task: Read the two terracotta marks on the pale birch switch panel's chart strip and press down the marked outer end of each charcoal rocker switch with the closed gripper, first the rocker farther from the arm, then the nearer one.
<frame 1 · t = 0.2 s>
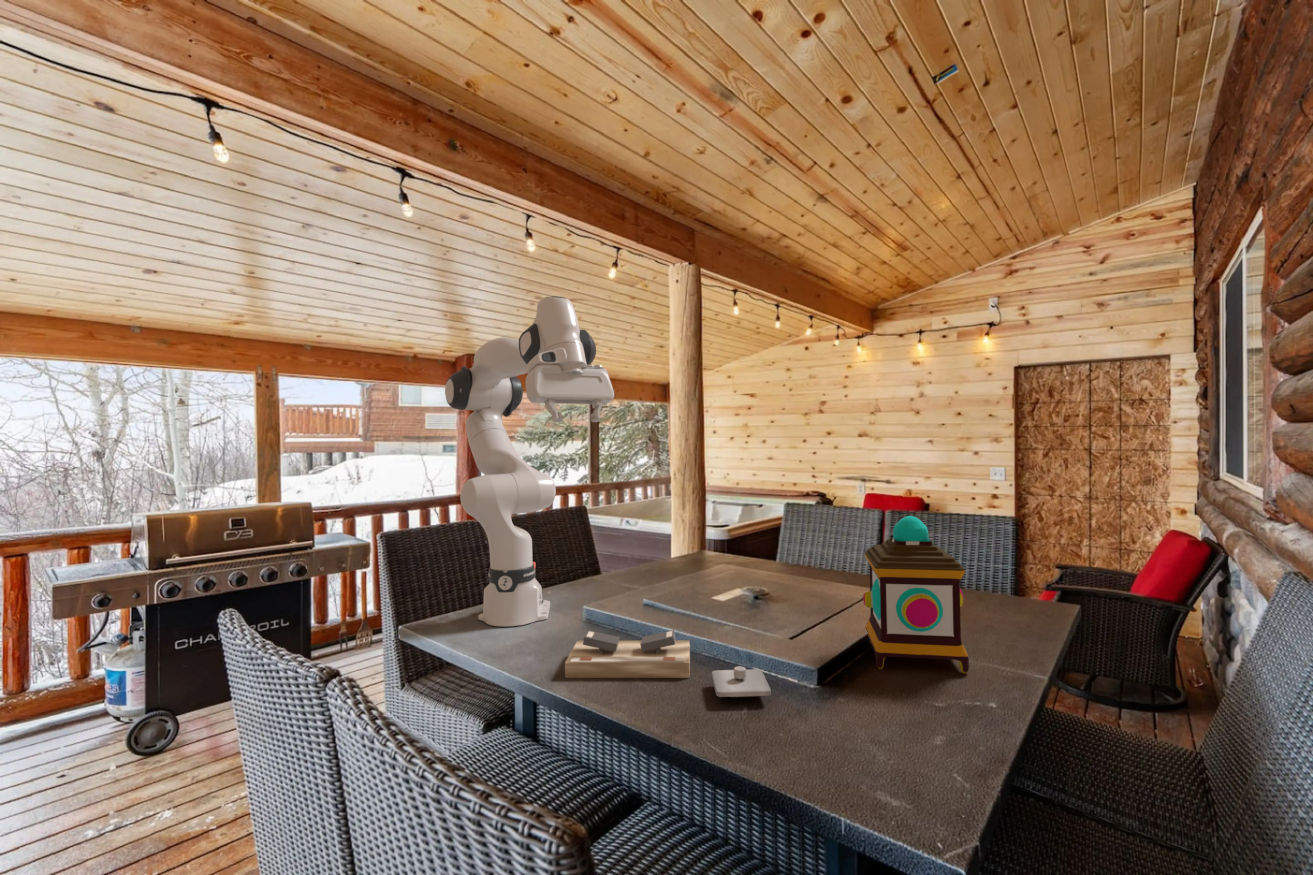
hand: (577, 421, 131), 52 cm above the table, fingers open, 8 cm apart
rocker near: (601, 640, 127), point 5 cm above the table, hinge at -12.0°
rocker far: (658, 640, 127), point 5 cm above the table, hinge at 12.0°
switch panel: (630, 665, 127), on the table
decorative lantern: (913, 657, 128), on the table
light switch: (740, 695, 112), on the table
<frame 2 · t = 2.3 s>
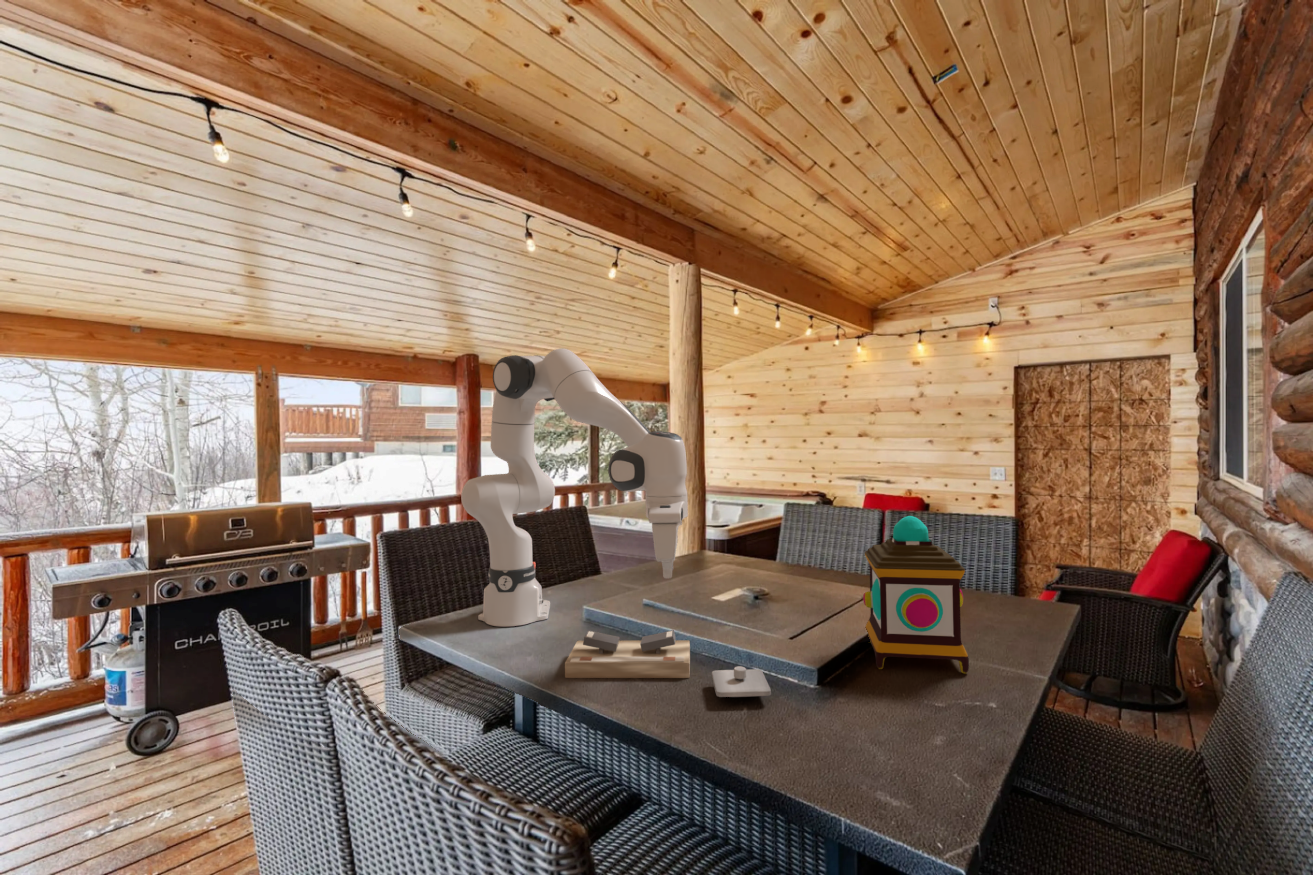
hand: (668, 574, 126), 19 cm above the table, fingers open, 4 cm apart
nothing on the table moved.
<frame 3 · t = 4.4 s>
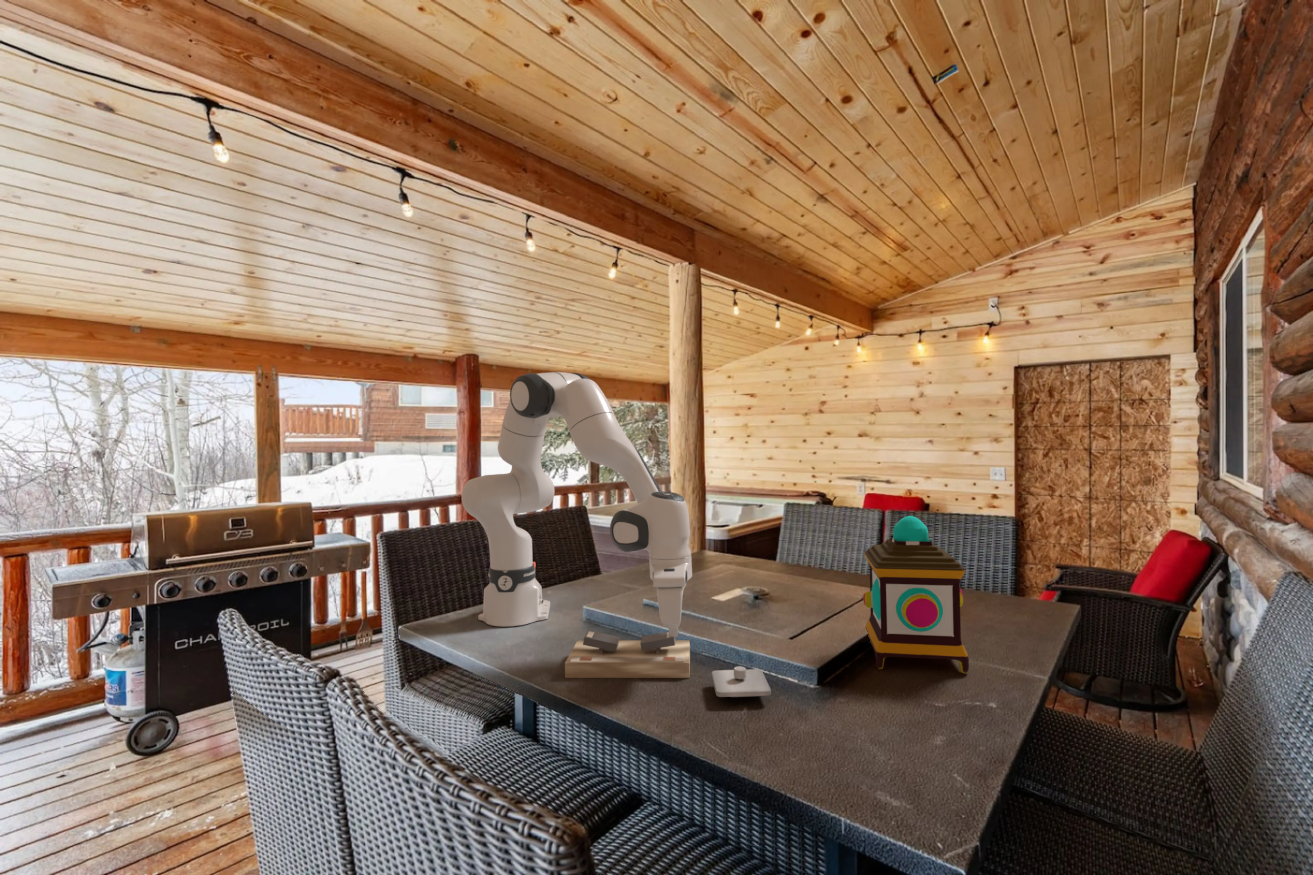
hand: (673, 635, 126), 6 cm above the table, fingers closed, pressing on rocker far
rocker far: (658, 640, 127), point 5 cm above the table, hinge at 9.0°, touching gripper
everything else where it was.
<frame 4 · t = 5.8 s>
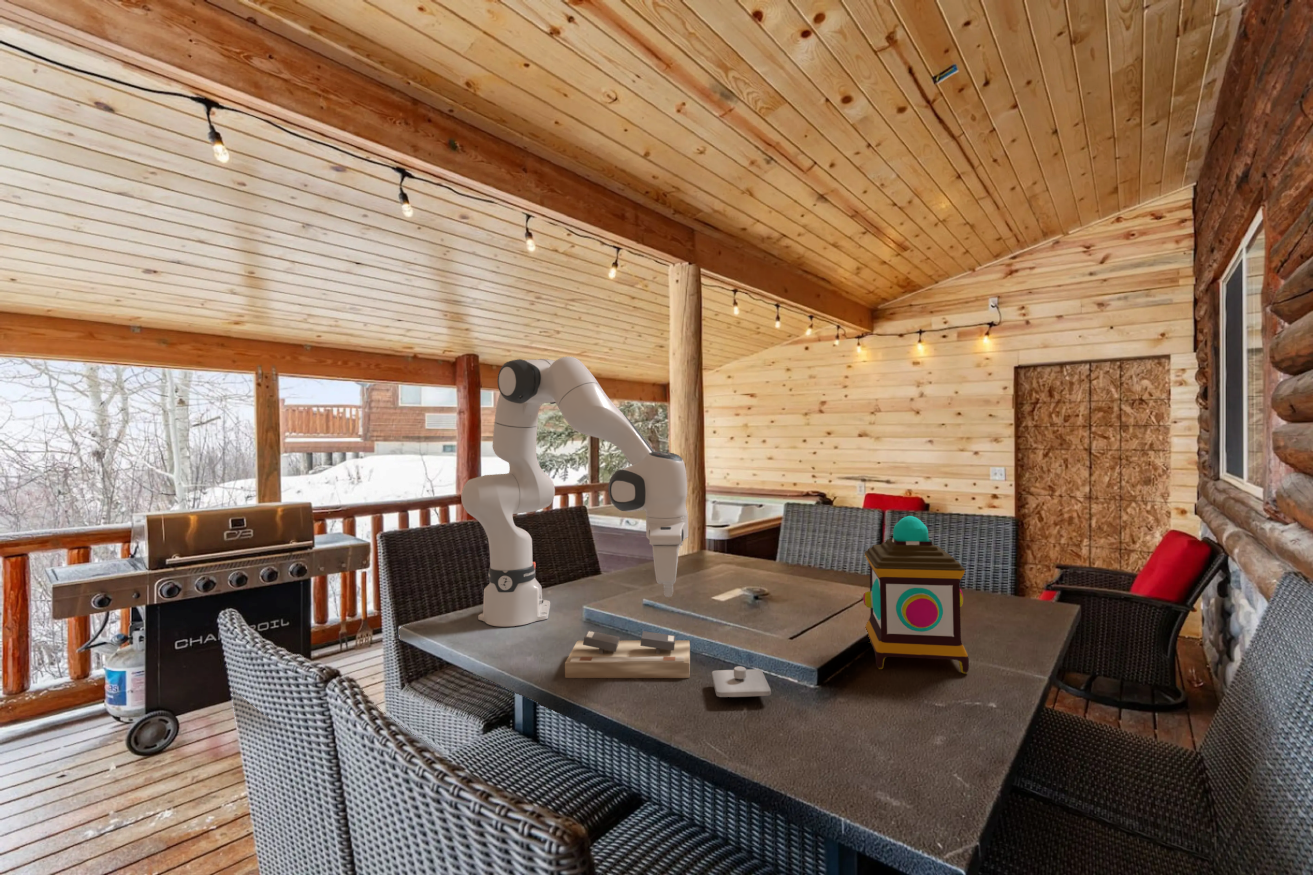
hand: (668, 594, 127), 15 cm above the table, fingers closed
rocker far: (658, 640, 127), point 5 cm above the table, hinge at -8.3°
everything else where it was.
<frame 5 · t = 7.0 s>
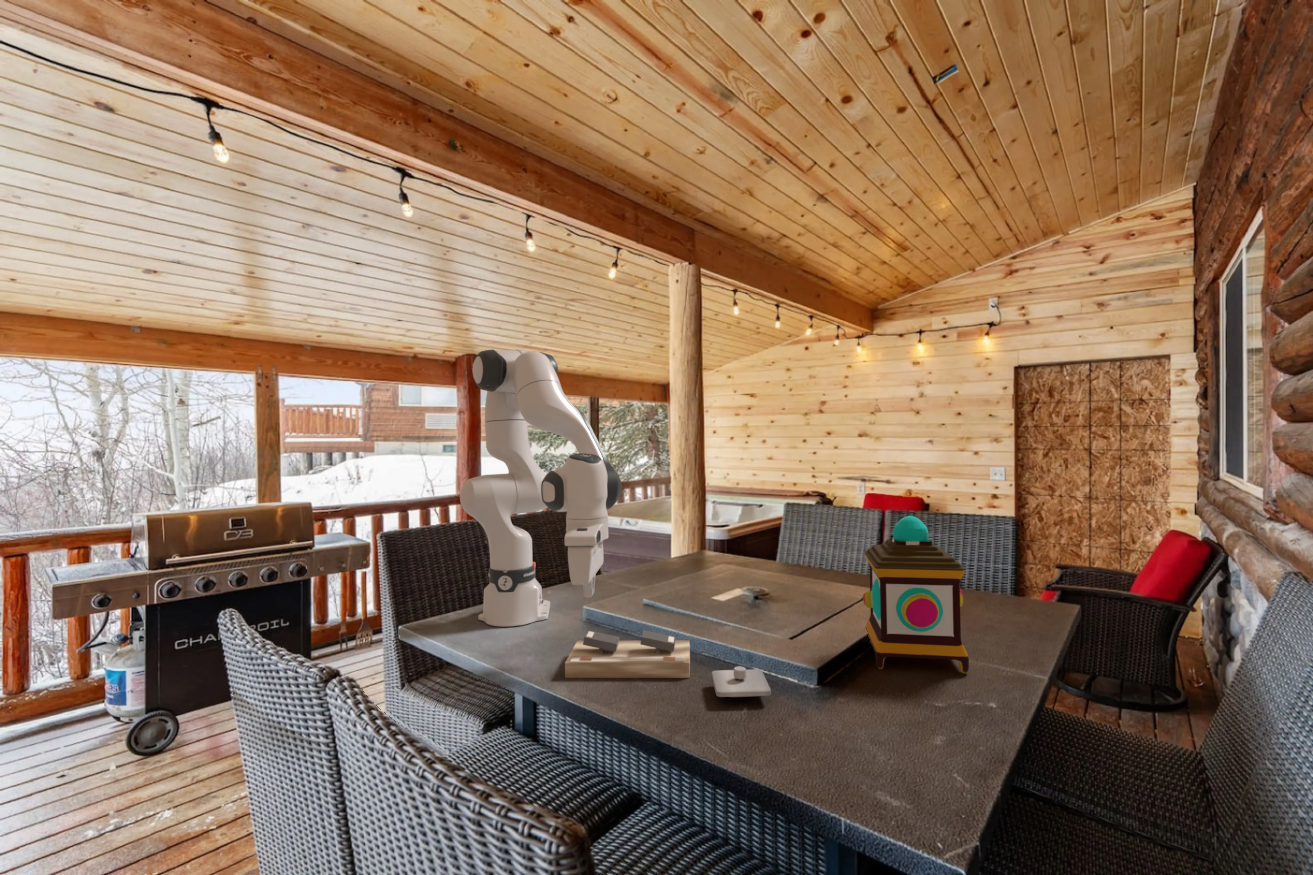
hand: (589, 595, 128), 15 cm above the table, fingers closed
rocker far: (658, 640, 127), point 5 cm above the table, hinge at -12.6°
everything else where it was.
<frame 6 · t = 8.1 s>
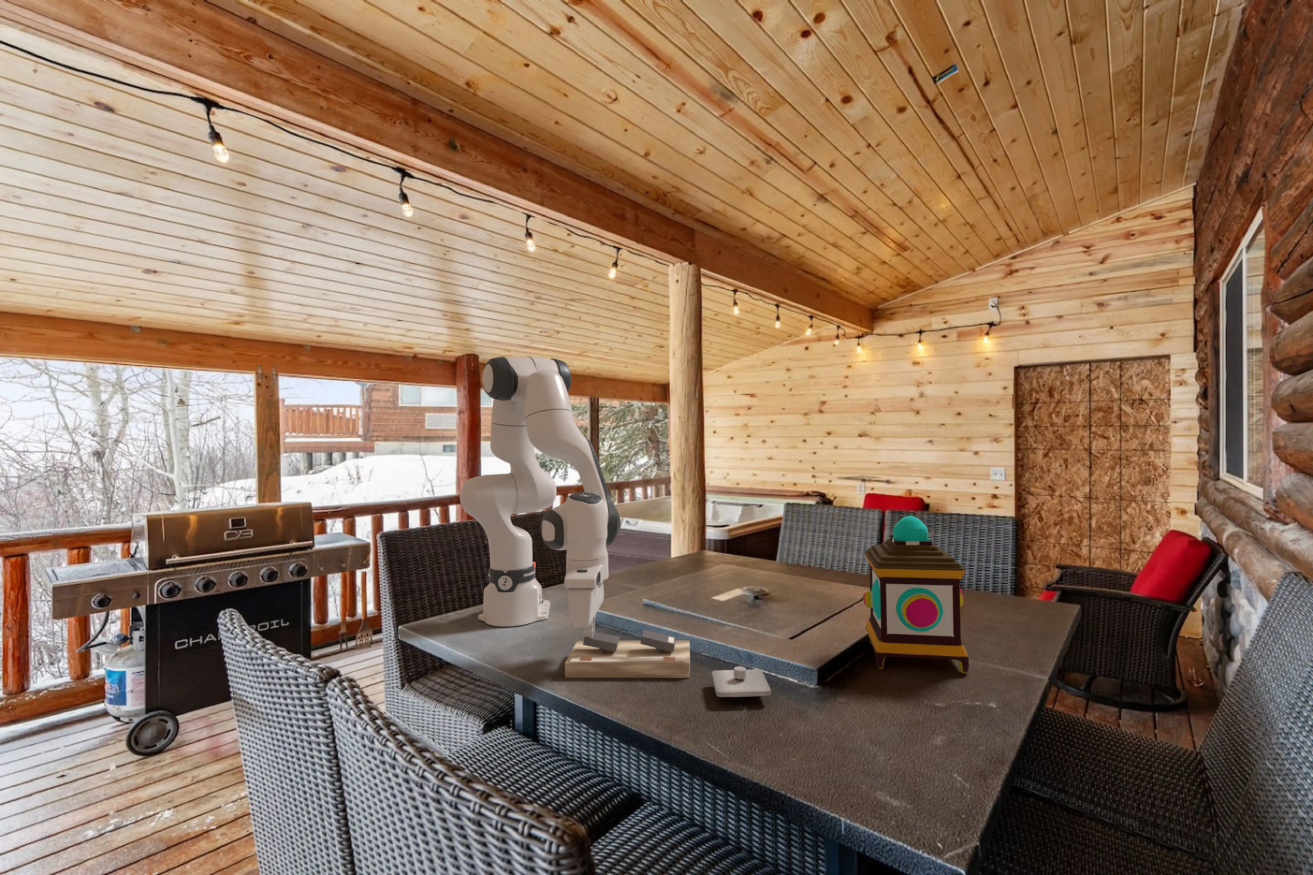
hand: (589, 635, 127), 6 cm above the table, fingers closed, pressing on rocker near
rocker near: (601, 640, 127), point 5 cm above the table, hinge at -11.7°, touching gripper
rocker far: (658, 640, 127), point 5 cm above the table, hinge at -14.6°
everything else where it was.
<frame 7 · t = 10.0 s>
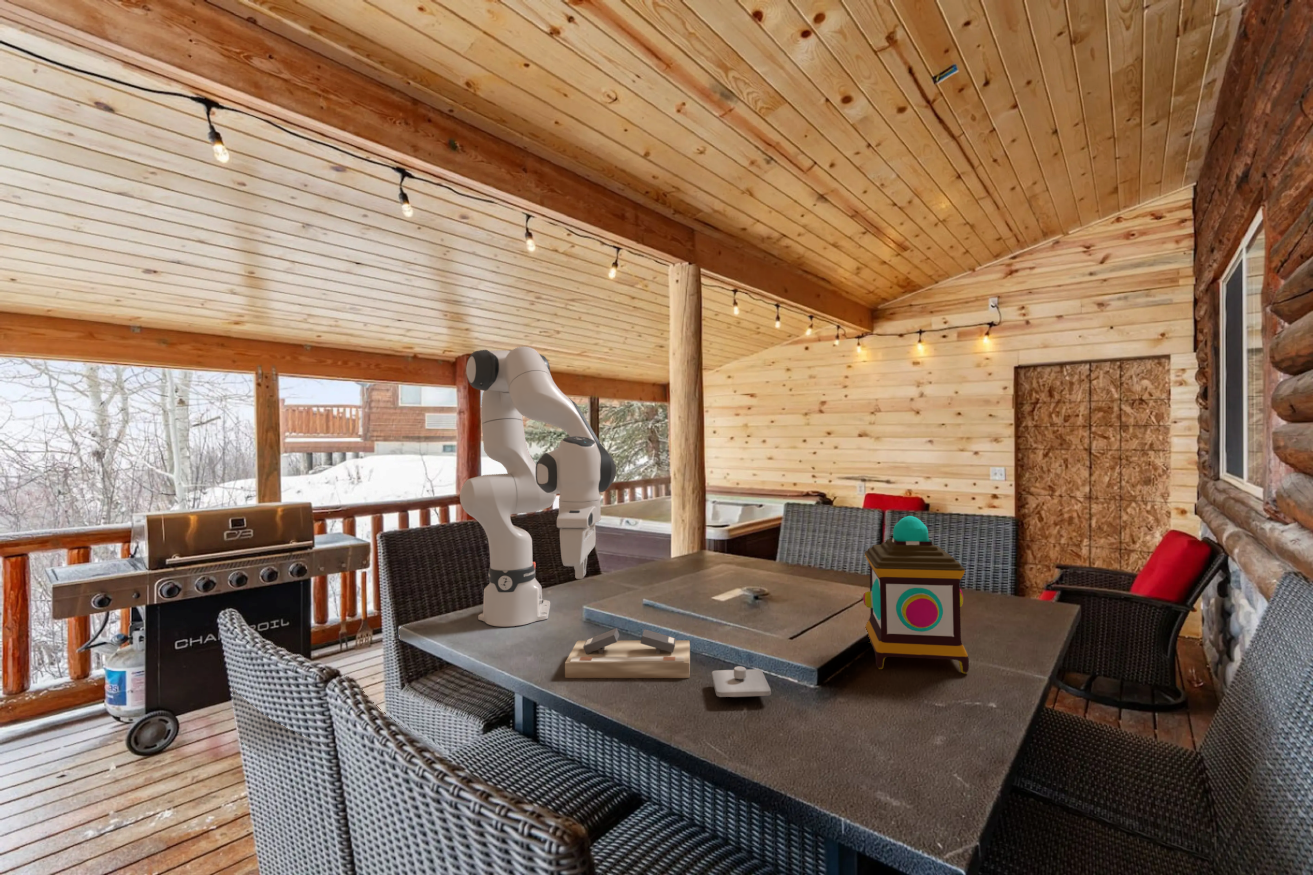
hand: (580, 576, 129), 18 cm above the table, fingers closed
rocker near: (601, 640, 127), point 5 cm above the table, hinge at 21.0°
rocker far: (658, 640, 127), point 5 cm above the table, hinge at -16.2°
everything else where it was.
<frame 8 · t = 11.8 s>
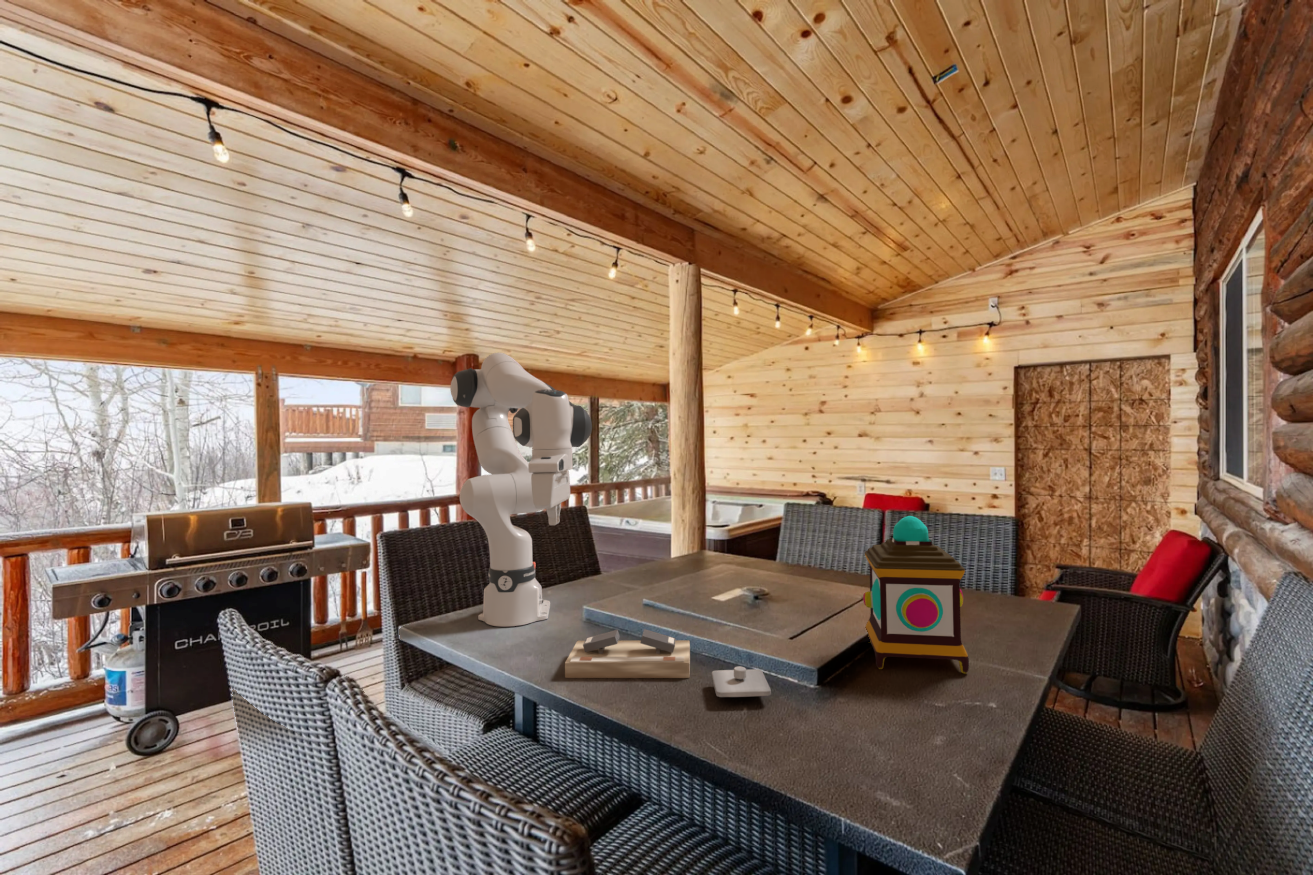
hand: (554, 524, 134), 29 cm above the table, fingers closed
rocker near: (601, 640, 127), point 5 cm above the table, hinge at 14.5°
rocker far: (658, 640, 127), point 5 cm above the table, hinge at -16.7°
everything else where it was.
at the end: rocker far at -17° (first picture: +12°); rocker near at +14° (first picture: -12°) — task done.
